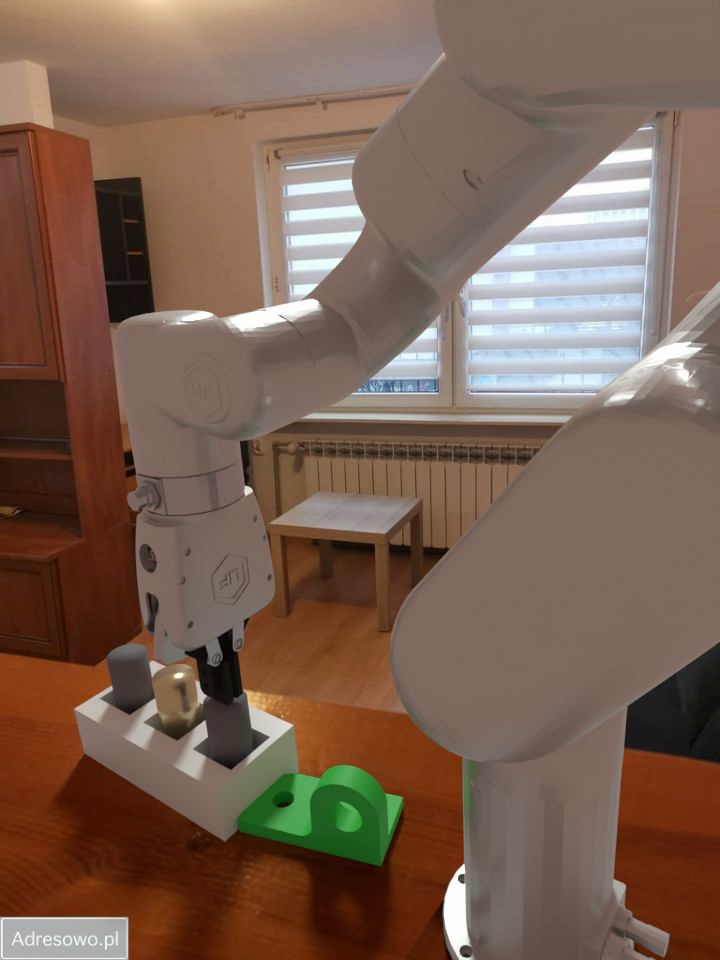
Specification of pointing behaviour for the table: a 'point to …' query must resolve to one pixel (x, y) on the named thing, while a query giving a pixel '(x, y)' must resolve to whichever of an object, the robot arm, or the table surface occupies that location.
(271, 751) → the white peg holder block
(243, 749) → the near knob
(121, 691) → the far knob
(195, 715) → the brass knob
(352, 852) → the mechanical part
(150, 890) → the table surface
